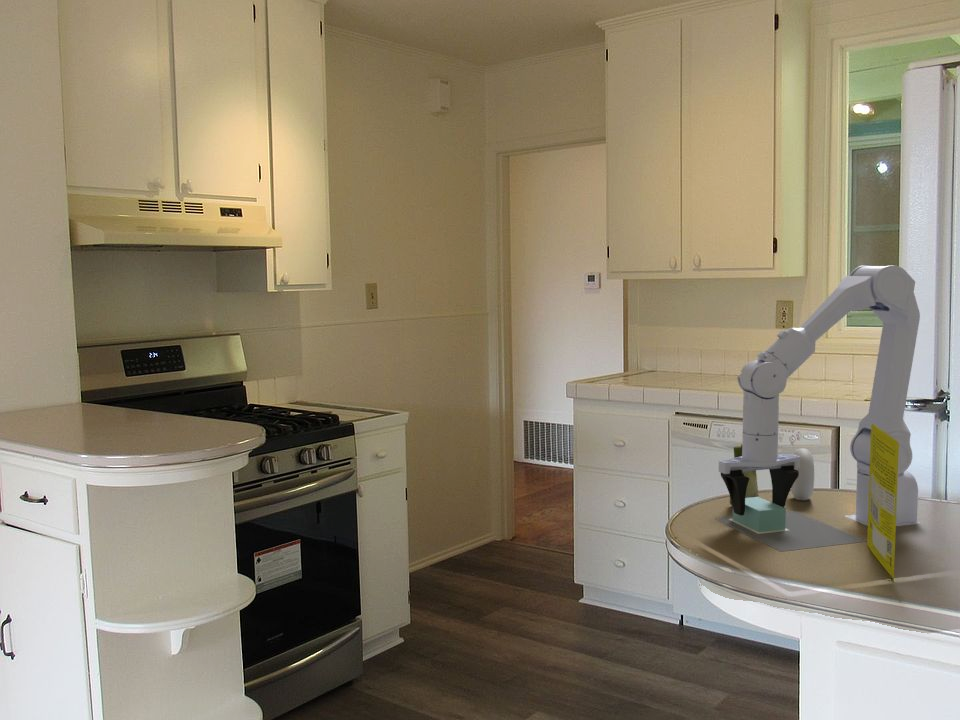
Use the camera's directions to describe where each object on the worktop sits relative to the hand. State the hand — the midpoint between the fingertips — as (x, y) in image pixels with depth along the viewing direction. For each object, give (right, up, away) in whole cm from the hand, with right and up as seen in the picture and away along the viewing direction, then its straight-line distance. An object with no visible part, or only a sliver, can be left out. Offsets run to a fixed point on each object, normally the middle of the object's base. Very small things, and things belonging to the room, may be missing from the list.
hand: (758, 511), depth 155 cm
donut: (+13, -1, +18) cm, 22 cm away
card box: (0, -2, 0) cm, 2 cm away
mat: (+4, -3, -3) cm, 6 cm away
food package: (+12, -5, -19) cm, 23 cm away
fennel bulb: (+1, -2, +13) cm, 13 cm away
